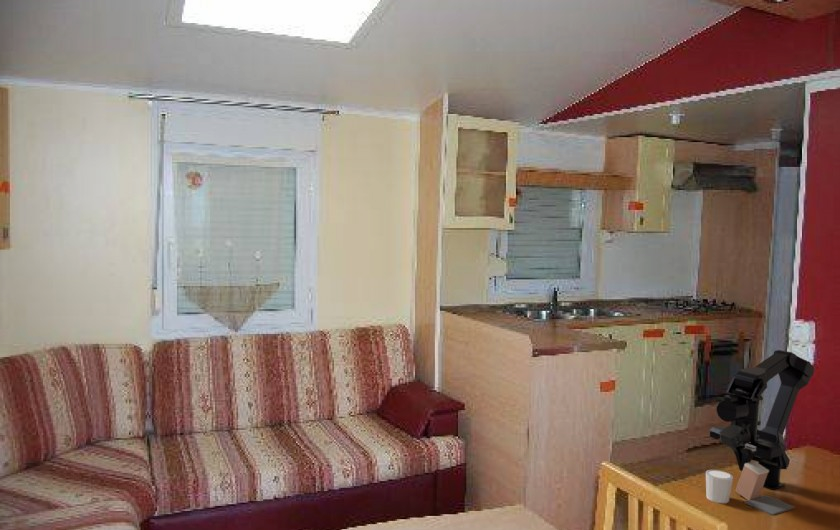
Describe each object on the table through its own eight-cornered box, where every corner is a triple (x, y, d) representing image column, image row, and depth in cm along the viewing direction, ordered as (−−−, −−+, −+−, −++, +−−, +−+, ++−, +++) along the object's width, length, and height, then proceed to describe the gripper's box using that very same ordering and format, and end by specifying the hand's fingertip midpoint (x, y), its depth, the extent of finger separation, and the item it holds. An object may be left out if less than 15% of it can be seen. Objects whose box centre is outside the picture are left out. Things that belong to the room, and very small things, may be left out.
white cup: (715, 505, 172) (717, 480, 171) (698, 494, 178) (700, 470, 178) (737, 503, 173) (738, 478, 173) (719, 492, 180) (720, 468, 180)
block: (744, 488, 181) (754, 461, 178) (758, 497, 177) (769, 470, 175) (735, 490, 179) (744, 463, 176) (749, 500, 175) (759, 473, 173)
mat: (765, 496, 178) (766, 495, 178) (794, 508, 172) (794, 506, 172) (743, 503, 174) (743, 501, 174) (772, 515, 167) (772, 513, 167)
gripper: (698, 410, 182) (694, 463, 184) (760, 430, 166) (755, 488, 167) (723, 406, 188) (719, 457, 189) (785, 425, 171) (781, 481, 173)
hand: (742, 470), depth 179 cm, fingers closed
